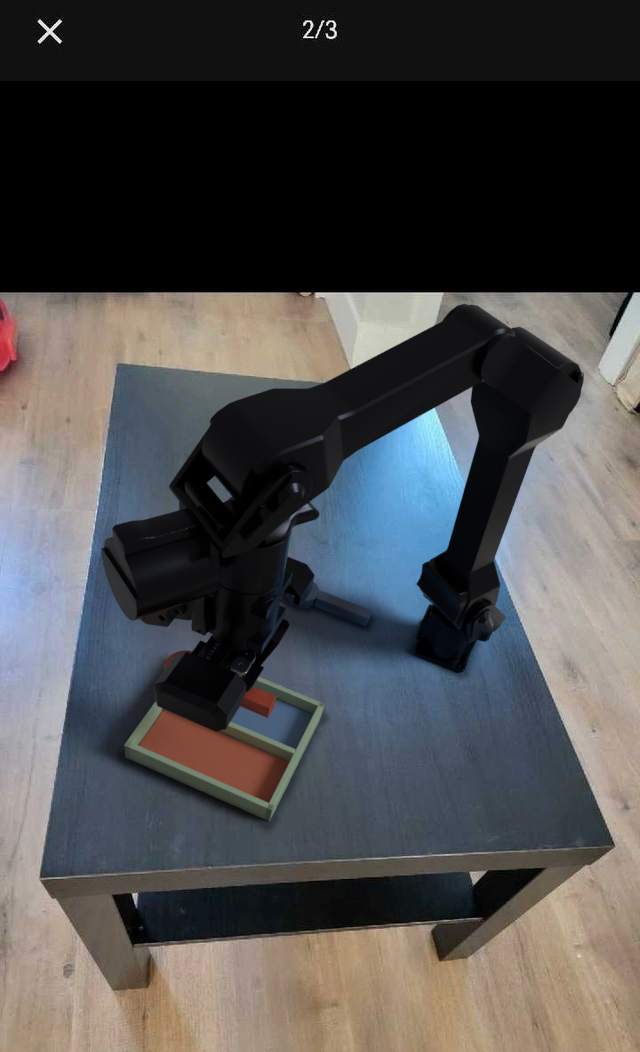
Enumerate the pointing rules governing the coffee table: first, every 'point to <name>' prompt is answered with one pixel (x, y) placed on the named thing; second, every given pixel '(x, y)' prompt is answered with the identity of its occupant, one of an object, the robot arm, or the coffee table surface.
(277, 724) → the tray
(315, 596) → the blue spoon
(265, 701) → the red spoon
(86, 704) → the coffee table surface
